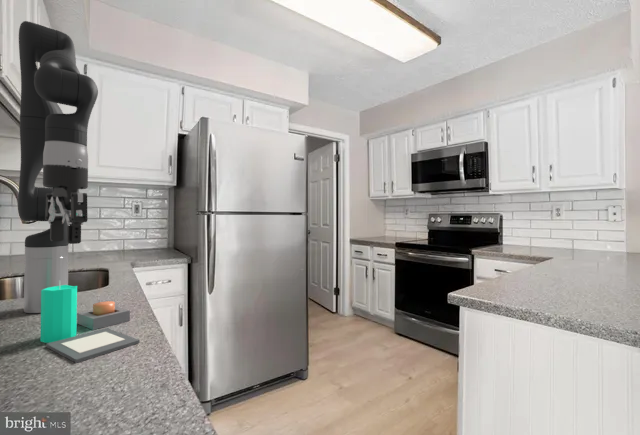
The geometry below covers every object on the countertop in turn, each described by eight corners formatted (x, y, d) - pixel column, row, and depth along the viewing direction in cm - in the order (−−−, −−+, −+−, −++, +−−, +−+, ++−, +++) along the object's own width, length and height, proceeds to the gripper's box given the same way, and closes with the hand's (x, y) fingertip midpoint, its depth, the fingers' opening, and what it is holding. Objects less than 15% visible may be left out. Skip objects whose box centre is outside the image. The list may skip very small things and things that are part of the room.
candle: (56, 343, 65) (57, 283, 65) (32, 341, 66) (33, 282, 66) (83, 333, 71) (84, 278, 71) (61, 331, 72) (62, 277, 72)
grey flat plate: (46, 346, 63) (46, 343, 63) (107, 330, 73) (107, 327, 73) (76, 363, 56) (76, 358, 56) (139, 342, 66) (139, 339, 66)
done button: (89, 316, 78) (89, 304, 78) (109, 312, 82) (109, 300, 82) (98, 319, 75) (98, 306, 75) (118, 315, 79) (118, 302, 79)
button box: (77, 323, 77) (77, 313, 77) (112, 315, 84) (113, 305, 84) (93, 330, 73) (93, 318, 73) (129, 320, 80) (129, 310, 80)
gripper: (31, 165, 69) (29, 241, 70) (58, 160, 62) (57, 245, 62) (72, 170, 76) (71, 239, 76) (102, 166, 68) (100, 243, 68)
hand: (65, 242), depth 69 cm, fingers open, 8 cm apart
